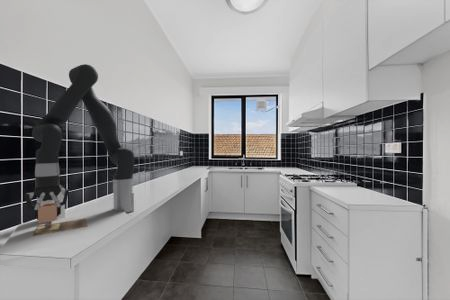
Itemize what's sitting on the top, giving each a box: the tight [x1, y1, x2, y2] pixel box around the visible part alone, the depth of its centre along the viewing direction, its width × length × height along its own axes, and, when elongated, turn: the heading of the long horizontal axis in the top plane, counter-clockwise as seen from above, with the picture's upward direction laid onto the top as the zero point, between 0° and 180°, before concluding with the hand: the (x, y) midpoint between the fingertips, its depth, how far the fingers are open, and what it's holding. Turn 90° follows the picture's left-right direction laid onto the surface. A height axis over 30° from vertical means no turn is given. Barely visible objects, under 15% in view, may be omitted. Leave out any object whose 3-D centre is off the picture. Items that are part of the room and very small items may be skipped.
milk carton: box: [36, 184, 66, 223], centre depth 100 cm, size 7×7×19 cm
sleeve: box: [37, 203, 58, 224], centre depth 88 cm, size 6×6×6 cm
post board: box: [32, 218, 88, 237], centre depth 90 cm, size 17×13×9 cm
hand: (48, 217), depth 88 cm, fingers closed on sleeve, 5 cm apart
